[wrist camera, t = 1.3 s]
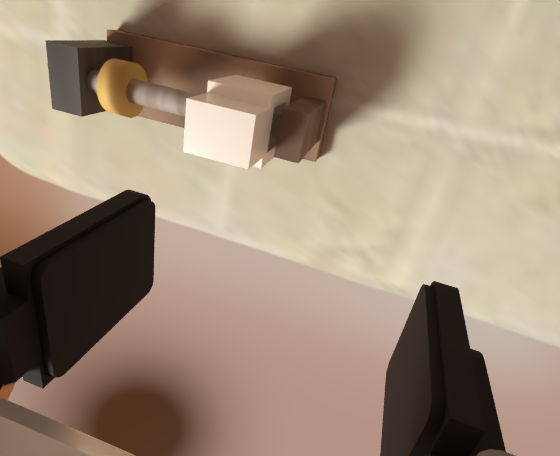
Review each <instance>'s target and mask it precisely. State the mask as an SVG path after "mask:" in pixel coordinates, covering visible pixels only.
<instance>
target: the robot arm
mask: <svg viewBox="0 0 560 456" xmlns="http://www.w3.org/2000/svg"><path fill="white" fill-rule="evenodd" d="M154 233H155V204H154V203H153V202H151V199H150V197H149V196H148V195H145V194H142V193H139V192H135V191H132V190H125V191H124V192H122V193H120V194H118V195H116V196H114V197H112V198H110V199H108V200H107V201H105V202H103V203H101V204H99V205H97V206H95V207H93V208H91V209H90V210H88V211H86V212H84V213H82V214H81V215H78V216H76V217H75V218H73V219H71V220H69V221H67V222H65V223H63V224H61V225H59V226H58V227H56V228H54V229H52V230H50V231H48V232H46V233H44V234H43V235H41V236H39V237H37V238H35V239H33V240H31V241H29V242H27V243H26V244H24V245H22V246H20V247H18V248H16V249H14V250H12V251H10V252H9V253H7V254H5V255H3V256H1V257H0V260H1V265H2V267H1V268H0V456H135V455H133V454H130V453H128V452H126V451H123V450H121V449H119V448H117V447H114V446H112V445H110V444H108V443H105V442H103V441H100V440H98V439H96V438H94V437H91V436H89V435H87V434H84V433H82V432H80V431H77V430H75V429H73V428H71V427H68V426H66V425H64V424H61V423H59V422H57V421H54V420H52V419H50V418H47V417H45V416H43V415H41V414H38V413H36V412H34V411H31V410H28V409H26V408H24V407H22V406H19V405H17V404H15V403H12V402H10V401H8V398H9V396H10V394H11V392H12V390H13V387H14V385H15V382H16V381H17V380H18V379H20V378H21V377H22V376H23V379H24V381H27V382H29V383H31V384H34V385H36V386H38V387H41V388H44V387H45V386H46V385H47V384H48V383H49V382H50V381H52V379H54V378H55V377H61V376H63V375H64V374H65V373H66V372H67V371H68V370H69V369H70V368H71V367H72V366H73V365H74V364H75V363H76V362H77V361H79V360H80V359H81V358H82V356H84V355H85V354H86V353H87V352H88V351H89V350H90V349H91V348H92V347H93V346H94V345H95V344H96V343H97V342H98V341H99V340H100V339H101V338H102V337H103V336H104V335H105V334H106V333H107V332H109V331H110V330H111V329H112V328H113V326H115V325H116V324H117V323H118V322H119V320H121V319H122V318H123V317H124V316H125V315H126V314H127V313H128V312H129V311H130V310H131V309H132V308H133V307H134V306H135V305H136V304H137V303H138V302H139V301H141V299H143V298H144V297H145V296H146V295H147V294H148V293H149V291H150V289H151V287H152V285H153V275H154V237H155V236H154V235H155V234H154ZM380 456H515V455H512V454H510V453H507V452H506V451H505V446H504V442H503V438H502V433H501V429H500V425H499V421H498V416H497V412H496V408H495V403H494V399H493V395H492V391H491V386H490V382H489V378H488V374H487V369H486V365H485V361H484V358H483V355H482V354H481V353H480V352H479V351H476V350H473V349H470V345H469V340H468V335H467V330H466V325H465V320H464V315H463V310H462V304H461V299H460V294H459V290H458V288H455V287H452V286H449V285H445V284H442V283H439V282H435V281H433V282H432V284H431V285H430V286H428V285H425V284H423V285H422V287H421V289H420V291H419V293H418V296H417V298H416V300H415V303H414V305H413V307H412V310H411V312H410V315H409V317H408V320H407V322H406V324H405V327H404V329H403V331H402V334H401V336H400V338H399V341H398V343H397V346H396V348H395V350H394V353H393V355H392V357H391V359H390V362H389V365H388V368H387V373H386V384H385V398H384V412H383V426H382V440H381V454H380Z"/></svg>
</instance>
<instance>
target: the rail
mask: <svg viewBox="0 0 560 456" xmlns="http://www.w3.org/2000/svg"><path fill="white" fill-rule="evenodd" d="M46 48H47V58H48V69H49V79H50V89H51V99H52V109H55V110H59V111H63V112H67V113H70V114H74V115H78V116H86V115H90V114H95V113H99V112H103V111H108V112H110V113H114V114H118V115H122V116H126V117H130V118H132V117H135V116H140V117H144V118H148V119H152V120H156V121H160V122H163V123H167V124H171V125H175V126H179V127H183V128H185V113H186V98H189V97H193V96H197V95H200V94H204V93H207V85H208V80H213V79H218V78H223V77H228V76H233V75H240V76H244V77H248V78H253V79H257V80H262V81H266V82H270V83H275V84H279V85H284V86H288V87H292V92H291V97H290V103H289V105H287V106H285V107H283V108H282V112H281V114H278V113H273V119H272V125H271V131H270V137H269V138H272V139H276V140H277V141H276V147H275V153H274V157H276V158H280V159H284V160H288V161H292V162H296V163H299V162H300V161H301V160H302V159H306V160H310V161H314V162H316V161H317V159H318V158H319V154H320V149H321V145H322V140H323V136H324V132H325V127H326V123H327V118H328V114H329V109H330V105H331V101H332V96H333V92H334V87H335V83H336V78H334V77H329V76H325V75H320V74H316V73H311V72H307V71H302V70H297V69H293V68H288V67H284V66H279V65H275V64H270V63H265V62H261V61H256V60H252V59H247V58H243V57H238V56H233V55H229V54H224V53H220V52H215V51H211V50H206V49H201V48H197V47H192V46H188V45H183V44H179V43H174V42H169V41H165V40H160V39H156V38H151V37H147V36H142V35H137V34H133V33H128V32H124V31H119V30H107V41H105V40H89V41H46Z"/></svg>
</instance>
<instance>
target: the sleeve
mask: <svg viewBox="0 0 560 456" xmlns="http://www.w3.org/2000/svg"><path fill="white" fill-rule="evenodd" d="M291 92H292V87H288V86H284V85H279V84H275V83H270V82H266V81H262V80H257V79H253V78H248V77H244V76H240V75H233V76H228V77H223V78H218V79H213V80H208V85H207V93H204V94H200V95H197V96H193V97H189V98H186V113H185V130H184V147H183V152H186V153H190V154H194V155H197V156H201V157H205V158H208V159H212V160H216V161H219V162H223V163H227V164H230V165H234V166H238V167H242V168H245V169H249V168H251V167H252V166H254V167H257V168H262V167H263V166H264V165H266V164H267V163H268V162H269V161H270V160H271V159H272V158H274V153H275V147H276V141H277V140H276V139H272V138H269V137H270V131H271V125H272V119H273V113H278V114H281V112H282V108H283V107H285V106H287V105H289V103H290V97H291Z"/></svg>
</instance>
